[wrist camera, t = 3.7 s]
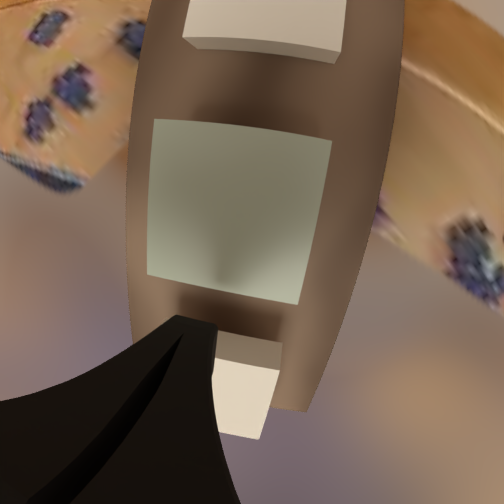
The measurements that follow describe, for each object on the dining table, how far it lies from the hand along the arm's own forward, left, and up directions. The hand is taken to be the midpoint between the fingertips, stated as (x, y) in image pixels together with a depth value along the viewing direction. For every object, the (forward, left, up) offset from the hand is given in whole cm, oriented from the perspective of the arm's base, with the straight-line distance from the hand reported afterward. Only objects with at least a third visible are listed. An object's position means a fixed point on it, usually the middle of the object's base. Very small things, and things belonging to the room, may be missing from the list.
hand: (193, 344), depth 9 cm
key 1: (0, -13, -6) cm, 14 cm away
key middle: (0, -3, -5) cm, 6 cm away
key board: (0, -3, -8) cm, 9 cm away
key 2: (0, +6, -5) cm, 8 cm away
